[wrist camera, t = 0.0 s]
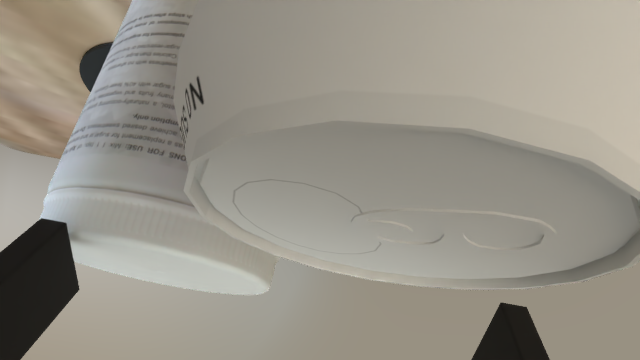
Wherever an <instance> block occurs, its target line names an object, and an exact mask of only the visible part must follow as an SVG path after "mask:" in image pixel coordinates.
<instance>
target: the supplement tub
mask: <svg viewBox="0 0 640 360" xmlns="http://www.w3.org/2000/svg"><path fill="white" fill-rule="evenodd" d="M198 1H199V0H132V3H131V5H130V7H129V9H128V12H127V14H126V16H125V18H124V20H123V23H122V25H121V27H120V29H119V31H118V34H117V36H116V38H115V40H114V42H113V45H112V47H111V49H110V51H109V53H108V56H107V58H106V60H105V62H104V64H103V66H102V69H101V71H100V73H99V75H98V77H97V80H96V82H95V84H94V86H93V88H92V91H91V93H90V95H89V97H88V99H87V102H86V104H85V106H84V108H83V110H82V113H81V115H80V117H79V119H78V122H77V124H76V126H75V128H74V130H73V133H72V135H71V137H70V139H69V141H68V144H67V146H66V148H65V150H64V152H63V155H62V157H61V159H60V161H59V164H58V166H57V169H56V171H55V173H54V176H53V178H52V180H51V182H50V184H49V187H48V195H47V196H46V197H45V199H44V210H43V212H42V214H41V216H40V219H41V218H43V219H49V220H54V221H60V222H65V223H67V229H68V234H69V239H70V244H71V249H72V254H73V259H74V262H77V263H80V264H83V265H87V266H90V267H93V268H97V269H100V270H104V271H107V272H111V273H116V274H119V275H123V276H127V277H131V278H136V279H140V280H144V281H149V282H154V283H159V284H164V285H169V286H175V287H180V288H186V289H192V290H199V291H206V292H214V293H224V294H237V295H256V294H262V293H265V292H267V291H268V290H269V289H270V286H271V282H272V277H273V273H274V269H275V265H276V263H277V262H278V260H279V258H280V257H277V256H274V255H272V254H270V253H267V252H265V251H263V250H260V249H258V248H256V247H253V246H251V245H249V244H246V243H244V242H242V241H240V240H237V239H235V238H233V237H232V236H230V235H229V234H227V233H226V232H224V231H223V230H221V229H220V228H218V227H217V226H215V225H214V224H212V223H211V222H209V221H208V220H206V219H205V218H203V217H202V216H201V215H200V214H199V212H198V211H197V209H196V208H195V207H194V205H193V204H192V202H191V201H190V199H189V198H188V197H187V195H186V194H185V192H184V191H183V190H184V186H185V182H186V178H187V174H188V165H187V161H186V156H185V151H184V147H183V142H182V138H181V133H180V129H179V124H178V120H177V115H176V111H175V106H174V102H173V99H174V90H175V81H176V72H177V63H178V54H179V48H180V46H181V43H182V41H183V38H184V36H185V33H186V31H187V28H188V26H189V23H190V21H191V18H192V16H193V13H194V11H195V8H196V6H197V3H198ZM40 219H39V220H40Z"/></svg>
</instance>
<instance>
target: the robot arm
mask: <svg viewBox="0 0 640 360" xmlns="http://www.w3.org/2000/svg"><path fill="white" fill-rule="evenodd" d="M78 290H79V286H78V280H77V275H76V270H75V265H74V259H73V254H72V249H71V244H70V239H69V234H68V229H67V223H65V222H60V221H54V220H49V219H43V218H41V219H40V220H39V221H37V222H36V223H35V224H34V225H33V226H32V227H30V228H29V229H28V230H27V231H25V233H23V234H22V235H21V236H19V237H18V238H17V239H16V240H15V241H13V242H12V243H11V244H10V245H9V246H8V247H6V248H5V249H4V250H3V251H1V252H0V360H20V359H21V358H22V357H23V356H24V355H25V353H26V352H27V351H28V350H29V348H31V346H32V345H33V344H34V343H35V341H36V340H37V339H38V338H39V337H40V336H41V334H42V333H43V332H44V331H45V330H46V329H47V327H48V326H49V325H50V324H51V322H52V321H53V320H54V319H55V318H56V317H57V315H58V314H59V313H60V312H61V311H62V309H63V308H64V307H65V306H66V305H67V304H68V302H69V301H70V300H71V299H72V298H73V296H74V295H75V294H76V293H77V292H78ZM472 360H549V357H548V355H547V353H546V350H545V348H544V346H543V344H542V341H541V339H540V337H539V335H538V332H537V330H536V328H535V326H534V323H533V321H532V318H531V316H530V314H529V312H528V309H527V307H523V306H517V305H512V304H506V303H500V305H499V307H498V309H497V311H496V313H495V315H494V317H493V319H492V321H491V323H490V325H489V327H488V329H487V331H486V332H485V335H484V336H483V338H482V340H481V342H480V344H479V346H478V348H477V350H476V352H475V354H474V356H473V358H472Z"/></svg>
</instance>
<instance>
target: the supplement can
mask: <svg viewBox="0 0 640 360" xmlns="http://www.w3.org/2000/svg"><path fill="white" fill-rule="evenodd" d="M173 102H174V106H175V111H176V115H177V120H178V124H179V129H180V133H181V138H182V142H183V147H184V151H185V156H186V161H187V165H188V174H187V178H186V182H185V186H184V190H183V191H184V192H185V194H186V195H187V197H188V198H189V199H190V201H191V202H192V204H193V205H194V207H195V208H196V209H197V211H198V212H199V214H200V215H201V216H202V217H203V218H205V219H206V220H208V221H209V222H211V223H212V224H214V225H215V226H217V227H218V228H220V229H221V230H223V231H224V232H226V233H227V234H229V235H230V236H232V237H233V238H235V239H237V240H240V241H242V242H244V243H246V244H249V245H251V246H253V247H256V248H258V249H260V250H263V251H265V252H267V253H270V254H272V255H274V256H277V257H281V258H284V259H287V260H291V261H294V262H297V263H301V264H304V265H307V266H310V267H313V268H317V269H320V270H325V271H330V272H334V273H340V274H344V275H348V276H353V277H358V278H363V279H367V280H375V281H381V282H389V283H396V284H404V285H411V286H418V287H434V288H450V289H466V290H499V289H532V288H539V287H547V286H555V285H563V284H570V283H578V282H585V281H588V280H591V279H594V278H597V277H601V276H604V275H607V274H610V273H613V272H617V271H620V270H623V269H626V268H629V267H633V266H634V265H635V264H636V263H637V262H639V261H640V0H199V1H198V3H197V6H196V8H195V11H194V13H193V16H192V18H191V21H190V23H189V26H188V28H187V31H186V33H185V36H184V38H183V41H182V43H181V46H180V48H179V54H178V63H177V72H176V81H175V90H174V99H173Z"/></svg>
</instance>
